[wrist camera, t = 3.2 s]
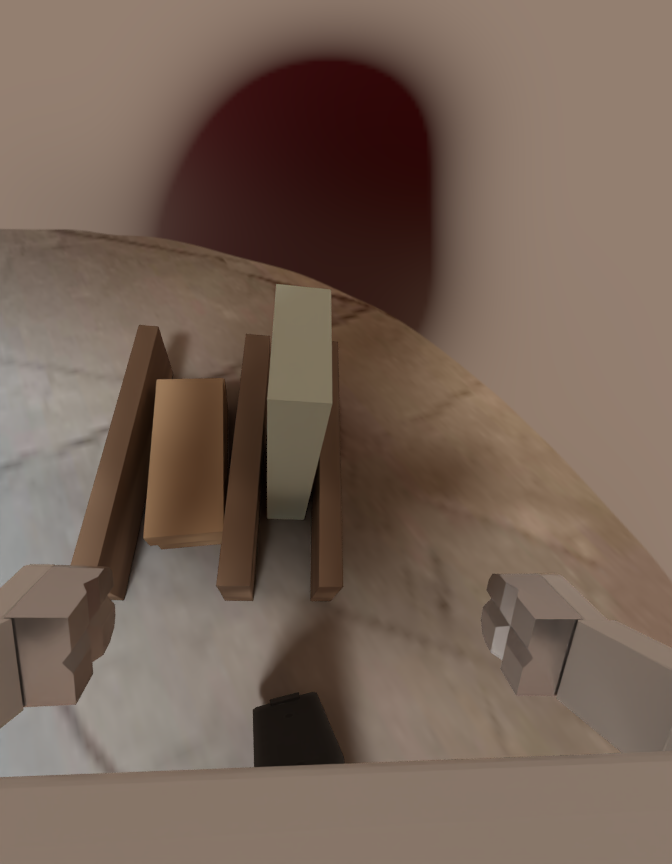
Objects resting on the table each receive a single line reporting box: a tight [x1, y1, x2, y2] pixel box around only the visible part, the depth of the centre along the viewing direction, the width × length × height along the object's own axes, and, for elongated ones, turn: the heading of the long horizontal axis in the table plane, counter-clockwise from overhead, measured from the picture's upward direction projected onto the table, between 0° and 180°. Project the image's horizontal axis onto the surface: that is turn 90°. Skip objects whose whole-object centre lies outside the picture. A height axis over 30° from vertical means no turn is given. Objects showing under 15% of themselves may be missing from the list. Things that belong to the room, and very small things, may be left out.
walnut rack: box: [71, 325, 343, 601], centre depth 27 cm, size 13×16×5 cm
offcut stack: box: [143, 378, 229, 549], centre depth 27 cm, size 4×11×4 cm, turn 7°
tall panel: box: [267, 284, 332, 520], centre depth 23 cm, size 2×6×14 cm, turn 1°
